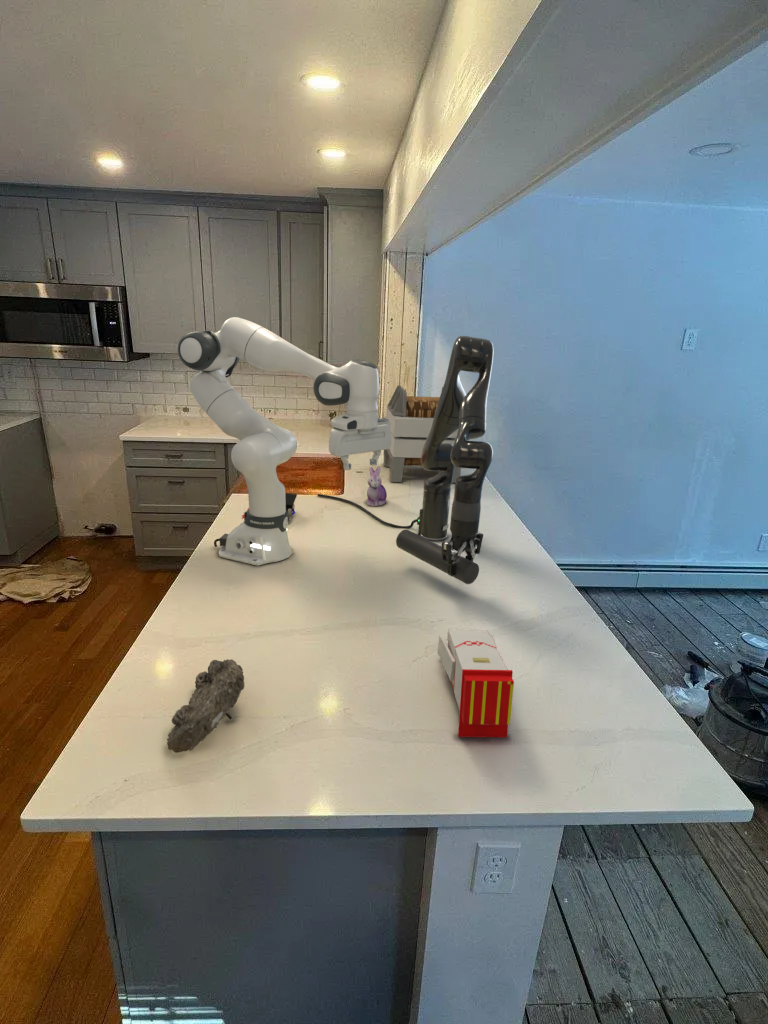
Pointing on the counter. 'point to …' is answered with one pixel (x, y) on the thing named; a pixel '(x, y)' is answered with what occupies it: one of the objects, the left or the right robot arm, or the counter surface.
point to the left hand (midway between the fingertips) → (360, 467)
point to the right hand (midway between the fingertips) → (459, 571)
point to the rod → (436, 555)
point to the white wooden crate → (410, 431)
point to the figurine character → (290, 504)
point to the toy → (478, 682)
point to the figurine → (375, 489)
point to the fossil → (206, 705)
